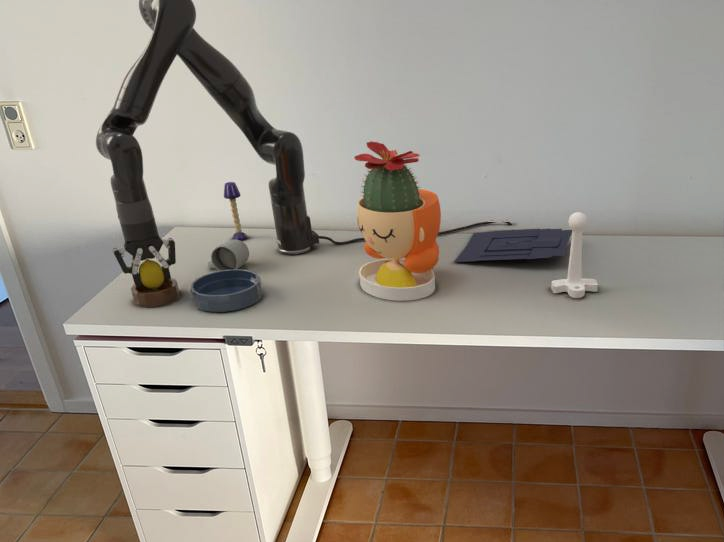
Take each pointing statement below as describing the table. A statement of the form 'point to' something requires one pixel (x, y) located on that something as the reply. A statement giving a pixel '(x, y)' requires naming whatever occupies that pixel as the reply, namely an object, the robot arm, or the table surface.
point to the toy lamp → (234, 208)
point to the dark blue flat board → (515, 244)
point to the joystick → (575, 263)
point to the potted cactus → (397, 228)
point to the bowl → (226, 290)
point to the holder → (156, 294)
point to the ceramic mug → (229, 255)
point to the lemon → (151, 274)
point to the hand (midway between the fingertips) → (153, 283)
